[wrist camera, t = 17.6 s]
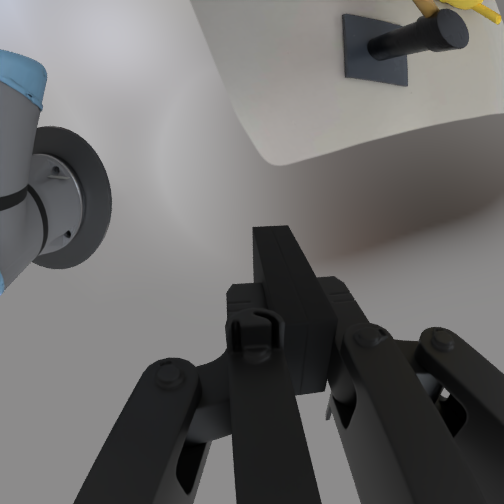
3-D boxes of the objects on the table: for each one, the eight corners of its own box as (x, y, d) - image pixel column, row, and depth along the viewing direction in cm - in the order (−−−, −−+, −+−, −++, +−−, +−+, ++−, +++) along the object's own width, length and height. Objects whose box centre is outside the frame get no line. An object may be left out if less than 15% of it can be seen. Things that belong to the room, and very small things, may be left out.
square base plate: (344, 77, 37) (394, 66, 24) (342, 15, 33) (387, -16, 20) (404, 86, 38) (464, 84, 25) (401, 28, 34) (457, 9, 21)
